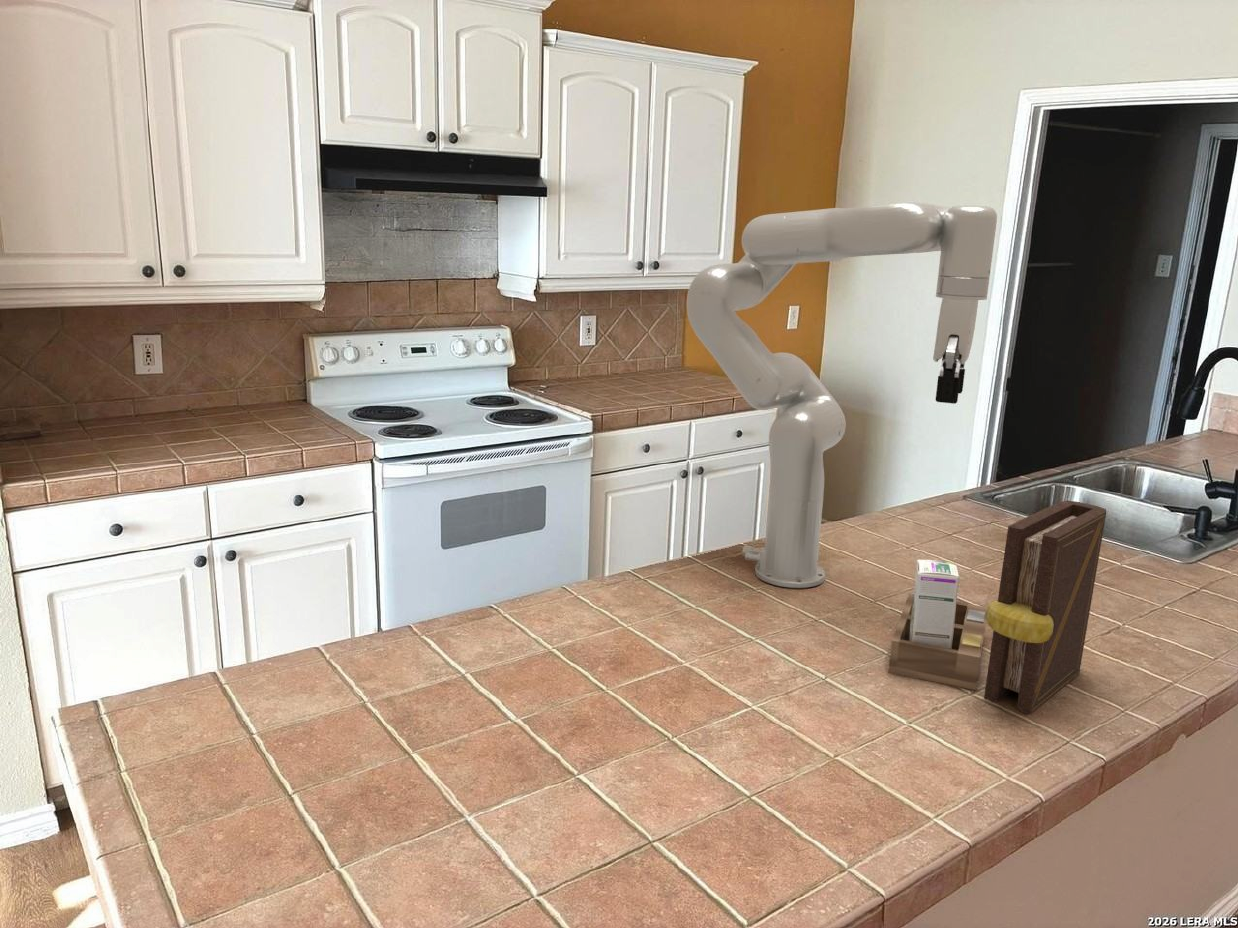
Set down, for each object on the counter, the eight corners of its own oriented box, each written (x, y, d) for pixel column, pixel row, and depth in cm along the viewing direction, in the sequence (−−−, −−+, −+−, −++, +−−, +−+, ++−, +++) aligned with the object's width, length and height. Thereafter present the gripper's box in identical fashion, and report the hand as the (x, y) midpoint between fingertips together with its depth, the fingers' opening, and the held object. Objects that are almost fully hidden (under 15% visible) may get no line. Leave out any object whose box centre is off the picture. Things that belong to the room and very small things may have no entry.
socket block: (975, 690, 133) (980, 655, 132) (888, 672, 138) (892, 638, 136) (983, 636, 151) (988, 605, 149) (905, 621, 155) (909, 591, 154)
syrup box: (950, 670, 137) (962, 575, 133) (907, 664, 138) (918, 571, 134) (946, 653, 142) (958, 562, 138) (905, 647, 143) (916, 557, 140)
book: (1033, 653, 145) (1057, 497, 139) (1091, 673, 139) (1119, 511, 133) (966, 701, 130) (990, 528, 124) (1028, 725, 124) (1056, 545, 118)
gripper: (942, 284, 156) (930, 386, 161) (930, 290, 141) (918, 404, 145) (990, 286, 153) (977, 391, 158) (984, 293, 138) (970, 409, 142)
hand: (949, 397), depth 151 cm, fingers open, 9 cm apart
